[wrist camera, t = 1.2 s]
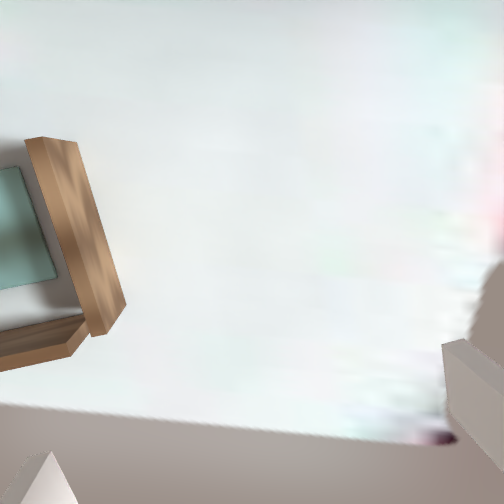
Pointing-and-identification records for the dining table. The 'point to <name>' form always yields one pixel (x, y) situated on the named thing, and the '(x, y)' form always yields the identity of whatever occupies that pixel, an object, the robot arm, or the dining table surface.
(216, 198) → the dining table surface
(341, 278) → the dining table surface
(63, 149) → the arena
